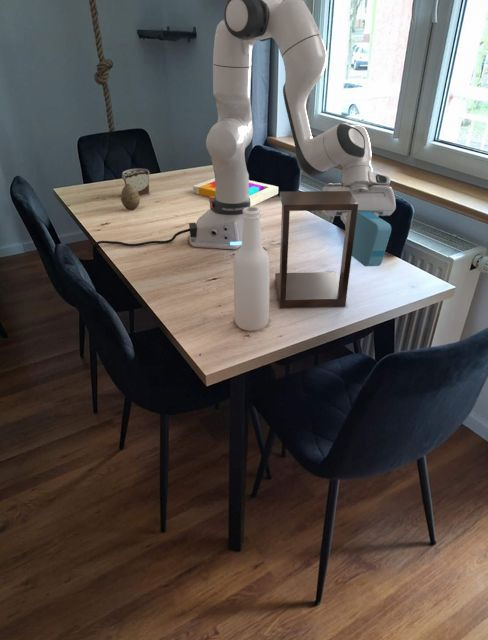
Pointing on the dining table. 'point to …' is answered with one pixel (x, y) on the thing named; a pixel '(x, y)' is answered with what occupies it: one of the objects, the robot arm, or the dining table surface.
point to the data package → (370, 239)
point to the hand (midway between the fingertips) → (360, 229)
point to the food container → (137, 180)
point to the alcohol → (251, 275)
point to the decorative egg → (130, 197)
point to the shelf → (316, 285)
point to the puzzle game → (256, 190)
